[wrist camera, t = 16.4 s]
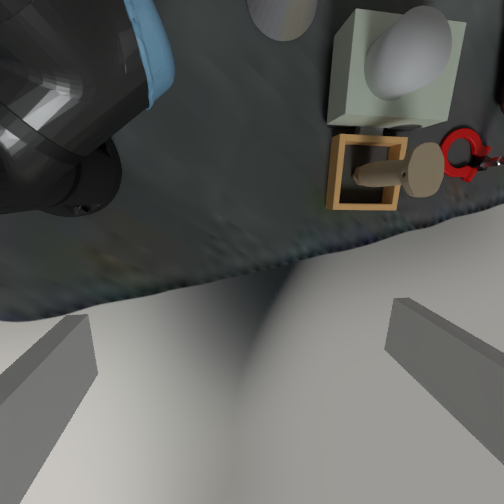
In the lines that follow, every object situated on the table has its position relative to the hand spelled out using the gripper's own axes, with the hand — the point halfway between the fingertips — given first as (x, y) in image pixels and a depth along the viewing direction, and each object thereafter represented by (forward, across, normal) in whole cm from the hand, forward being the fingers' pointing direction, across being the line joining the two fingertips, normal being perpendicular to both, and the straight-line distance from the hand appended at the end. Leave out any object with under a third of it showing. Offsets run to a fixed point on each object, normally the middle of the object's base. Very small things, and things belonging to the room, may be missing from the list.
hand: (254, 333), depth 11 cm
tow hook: (+34, +44, +12) cm, 57 cm away
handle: (+34, +24, +8) cm, 43 cm away
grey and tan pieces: (+34, +25, +15) cm, 45 cm away
